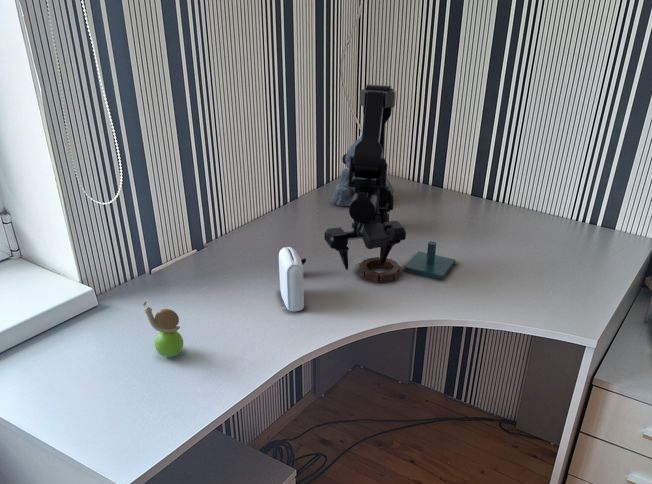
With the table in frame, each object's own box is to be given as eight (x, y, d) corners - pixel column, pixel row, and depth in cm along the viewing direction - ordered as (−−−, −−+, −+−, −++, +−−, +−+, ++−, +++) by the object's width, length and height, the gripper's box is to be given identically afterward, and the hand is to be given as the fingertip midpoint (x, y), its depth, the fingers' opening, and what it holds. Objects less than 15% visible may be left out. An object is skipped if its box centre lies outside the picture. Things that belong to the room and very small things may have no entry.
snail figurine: (154, 347, 139) (145, 295, 132) (186, 346, 139) (179, 294, 133) (149, 362, 134) (140, 309, 128) (182, 362, 135) (175, 309, 128)
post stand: (404, 271, 171) (405, 246, 167) (418, 255, 179) (420, 231, 175) (442, 279, 168) (444, 255, 164) (455, 263, 175) (457, 239, 172)
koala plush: (338, 187, 219) (339, 125, 208) (395, 191, 218) (398, 129, 207) (330, 207, 204) (331, 142, 194) (391, 211, 203) (394, 146, 192)
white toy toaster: (278, 291, 160) (276, 242, 153) (296, 289, 161) (295, 241, 154) (287, 313, 152) (285, 263, 145) (306, 311, 153) (305, 261, 146)
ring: (353, 277, 167) (353, 269, 166) (369, 261, 175) (369, 254, 174) (389, 285, 164) (390, 278, 163) (404, 269, 172) (405, 262, 171)
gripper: (339, 224, 149) (338, 287, 158) (417, 214, 155) (412, 276, 164) (323, 205, 158) (323, 266, 166) (398, 197, 164) (395, 256, 172)
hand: (364, 266), depth 167 cm, fingers open, 9 cm apart
